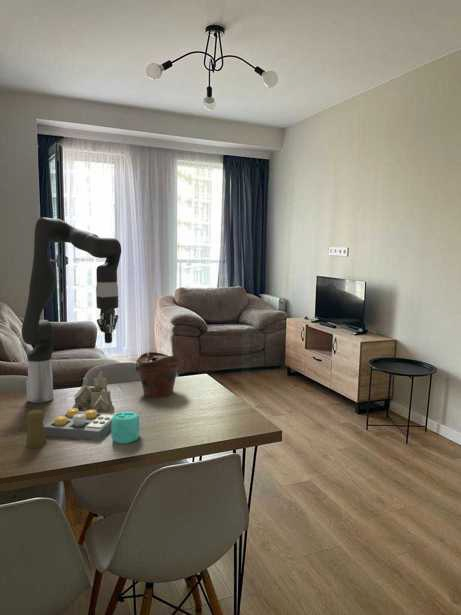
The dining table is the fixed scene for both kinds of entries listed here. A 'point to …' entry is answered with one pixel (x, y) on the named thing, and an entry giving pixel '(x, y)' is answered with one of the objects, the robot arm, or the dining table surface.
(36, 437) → the olive rounded cylinder
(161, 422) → the dining table surface
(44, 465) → the dining table surface
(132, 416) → the decorative dice
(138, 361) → the brown tapered round container
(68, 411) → the amber button
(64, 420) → the amber button
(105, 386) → the ceramic cottage
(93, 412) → the amber button
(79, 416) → the white button
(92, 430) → the button board
